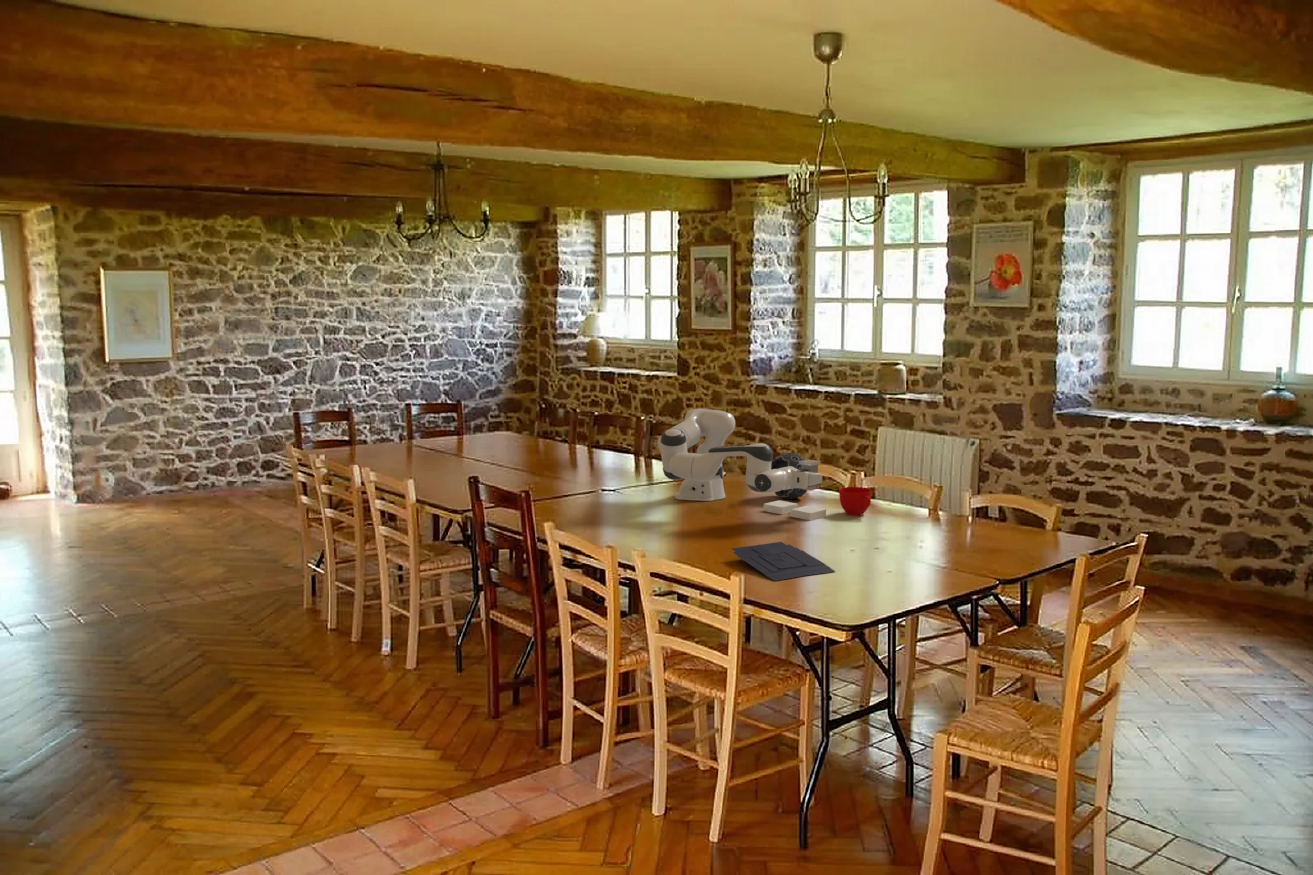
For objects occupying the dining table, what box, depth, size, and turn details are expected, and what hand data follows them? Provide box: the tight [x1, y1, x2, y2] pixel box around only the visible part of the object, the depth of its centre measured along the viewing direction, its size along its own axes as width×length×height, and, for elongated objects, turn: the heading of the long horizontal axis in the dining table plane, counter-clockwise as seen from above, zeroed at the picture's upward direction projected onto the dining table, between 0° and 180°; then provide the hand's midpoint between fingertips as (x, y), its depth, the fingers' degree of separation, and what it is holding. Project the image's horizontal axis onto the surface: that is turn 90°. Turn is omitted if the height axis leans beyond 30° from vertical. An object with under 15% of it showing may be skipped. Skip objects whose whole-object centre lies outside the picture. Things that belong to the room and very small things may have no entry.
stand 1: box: [763, 500, 799, 515], centre depth 435 cm, size 10×10×3 cm
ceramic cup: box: [838, 486, 872, 517], centre depth 426 cm, size 13×17×10 cm
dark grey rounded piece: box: [771, 452, 808, 500], centre depth 459 cm, size 11×20×20 cm, turn 31°
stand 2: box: [790, 505, 827, 521], centre depth 424 cm, size 10×10×3 cm
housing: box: [798, 458, 821, 491], centre depth 422 cm, size 6×6×11 cm
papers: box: [730, 541, 836, 582], centre depth 350 cm, size 24×30×4 cm
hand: (810, 473), depth 422 cm, fingers closed on housing, 5 cm apart
